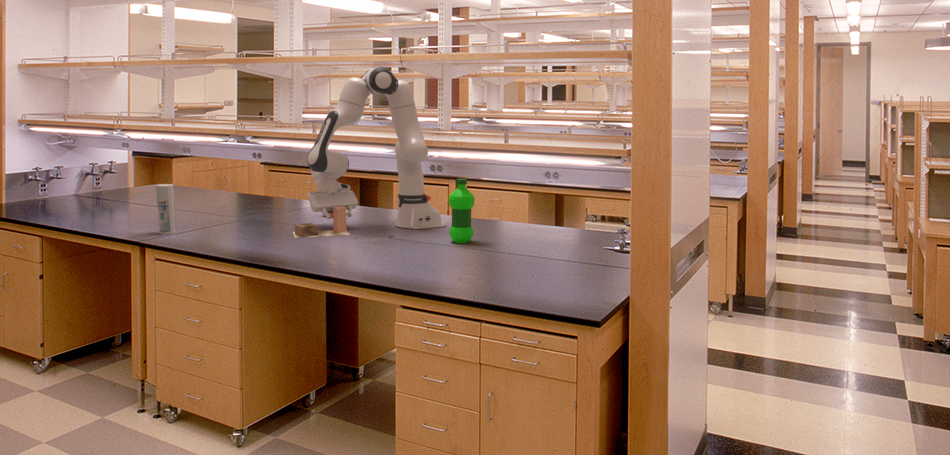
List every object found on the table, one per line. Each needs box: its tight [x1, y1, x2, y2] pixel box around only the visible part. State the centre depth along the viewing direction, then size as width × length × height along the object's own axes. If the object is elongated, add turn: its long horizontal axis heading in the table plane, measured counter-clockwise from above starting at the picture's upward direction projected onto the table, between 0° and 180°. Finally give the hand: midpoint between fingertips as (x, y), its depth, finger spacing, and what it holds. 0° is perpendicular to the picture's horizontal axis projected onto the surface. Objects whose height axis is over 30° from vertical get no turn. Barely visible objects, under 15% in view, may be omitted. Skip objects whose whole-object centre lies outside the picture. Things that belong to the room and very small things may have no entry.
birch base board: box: [292, 229, 351, 239], centre depth 288 cm, size 22×12×1 cm, turn 108°
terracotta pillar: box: [332, 206, 348, 232], centre depth 292 cm, size 4×4×10 cm
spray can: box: [155, 183, 177, 235], centre depth 290 cm, size 6×6×20 cm
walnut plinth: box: [294, 222, 319, 238], centre depth 285 cm, size 7×7×4 cm
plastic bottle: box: [448, 178, 475, 244], centre depth 277 cm, size 10×10×25 cm
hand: (339, 217), depth 292 cm, fingers open, 8 cm apart
